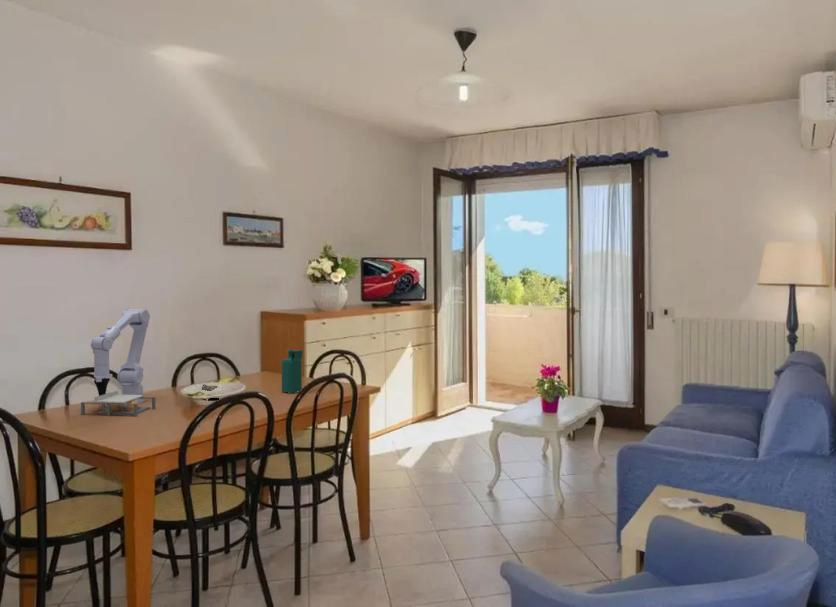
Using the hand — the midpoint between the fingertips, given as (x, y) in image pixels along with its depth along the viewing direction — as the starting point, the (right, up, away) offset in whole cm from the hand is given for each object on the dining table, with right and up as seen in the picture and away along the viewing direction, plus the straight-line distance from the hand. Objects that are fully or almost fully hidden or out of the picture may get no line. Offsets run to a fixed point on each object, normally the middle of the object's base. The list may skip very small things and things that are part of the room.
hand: (102, 395), depth 257 cm
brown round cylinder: (+13, -7, -1) cm, 15 cm away
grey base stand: (+8, -7, 0) cm, 10 cm away
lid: (+8, -1, -1) cm, 8 cm away
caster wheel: (+39, -7, +30) cm, 50 cm away
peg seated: (+6, -7, 0) cm, 9 cm away
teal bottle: (+72, -6, +50) cm, 88 cm away
